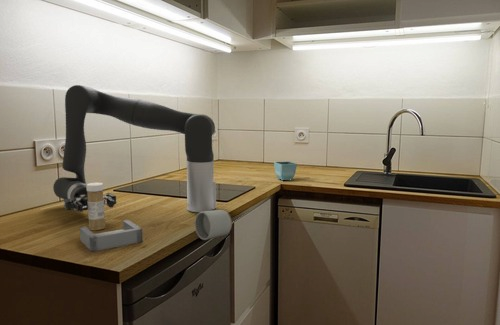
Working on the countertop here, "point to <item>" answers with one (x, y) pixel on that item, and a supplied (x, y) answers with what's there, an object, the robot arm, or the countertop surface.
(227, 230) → the ceramic mug
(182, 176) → the countertop surface
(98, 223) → the sprinkles bottle
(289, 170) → the flower pot
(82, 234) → the bay
